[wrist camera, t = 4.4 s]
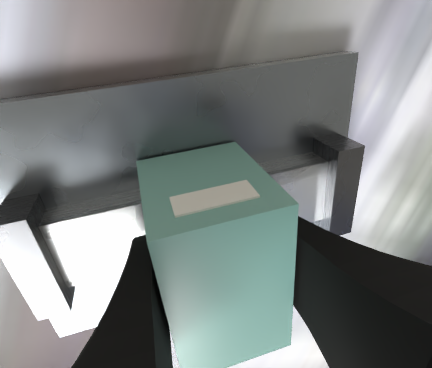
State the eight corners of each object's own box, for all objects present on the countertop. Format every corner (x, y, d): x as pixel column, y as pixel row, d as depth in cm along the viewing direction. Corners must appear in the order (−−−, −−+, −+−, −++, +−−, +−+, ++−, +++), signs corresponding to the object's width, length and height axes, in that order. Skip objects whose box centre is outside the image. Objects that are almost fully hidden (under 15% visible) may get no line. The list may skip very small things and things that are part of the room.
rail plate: (345, 51, 13) (393, 55, 10) (323, 247, 18) (352, 278, 16) (-54, 107, 10) (-106, 130, 7) (62, 323, 15) (52, 374, 13)
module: (235, 139, 12) (299, 201, 8) (242, 255, 15) (290, 344, 11) (135, 159, 11) (145, 240, 7) (164, 277, 14) (184, 383, 10)
